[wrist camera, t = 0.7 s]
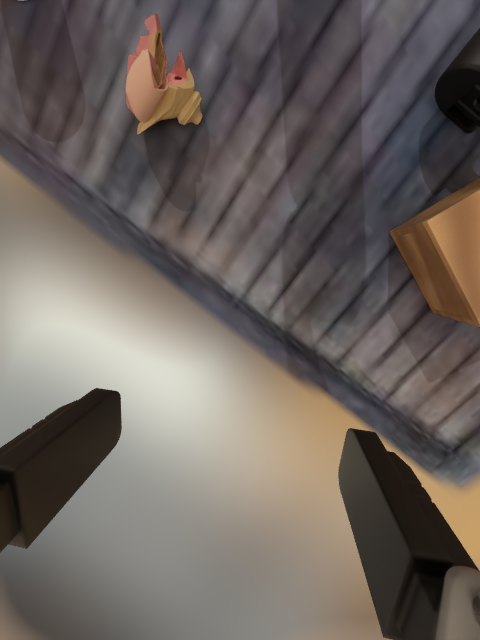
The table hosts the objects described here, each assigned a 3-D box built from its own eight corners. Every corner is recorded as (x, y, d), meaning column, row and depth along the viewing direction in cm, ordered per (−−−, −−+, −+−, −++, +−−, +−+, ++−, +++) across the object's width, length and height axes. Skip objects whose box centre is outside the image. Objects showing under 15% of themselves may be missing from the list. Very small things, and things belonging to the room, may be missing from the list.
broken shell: (222, 84, 31) (208, 116, 26) (180, 144, 38) (162, 178, 33) (158, 0, 26) (126, 20, 21) (122, 86, 33) (90, 116, 28)
